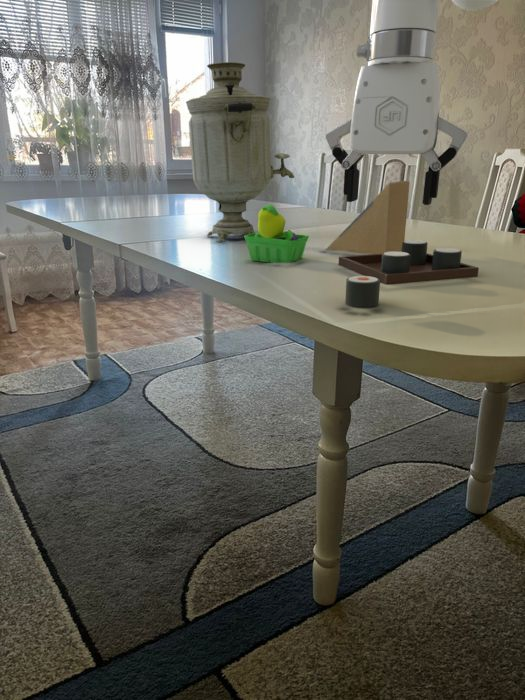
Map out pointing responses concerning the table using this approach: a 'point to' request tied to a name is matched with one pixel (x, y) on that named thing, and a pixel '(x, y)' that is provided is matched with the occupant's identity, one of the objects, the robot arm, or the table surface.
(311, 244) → the table surface
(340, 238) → the sandwich container
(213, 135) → the samovar
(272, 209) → the fruit basket
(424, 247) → the corner roll
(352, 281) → the maki roll
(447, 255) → the corner roll
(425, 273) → the tray
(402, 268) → the corner roll
